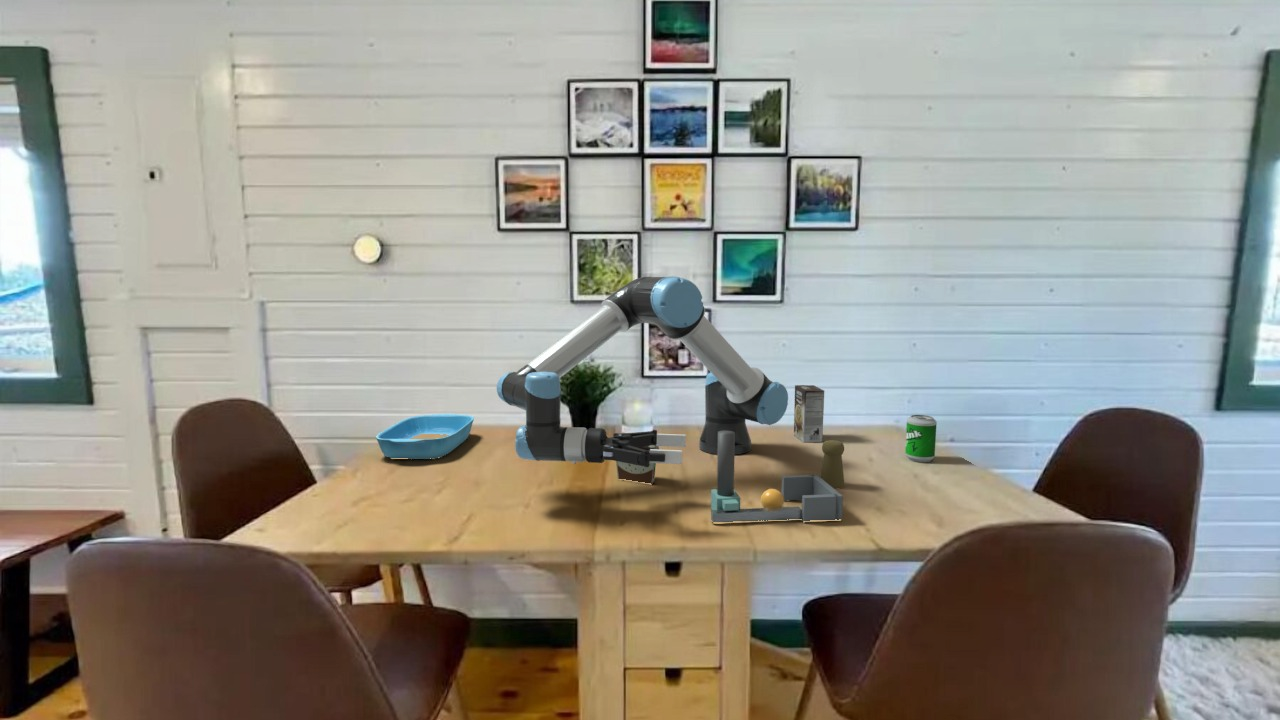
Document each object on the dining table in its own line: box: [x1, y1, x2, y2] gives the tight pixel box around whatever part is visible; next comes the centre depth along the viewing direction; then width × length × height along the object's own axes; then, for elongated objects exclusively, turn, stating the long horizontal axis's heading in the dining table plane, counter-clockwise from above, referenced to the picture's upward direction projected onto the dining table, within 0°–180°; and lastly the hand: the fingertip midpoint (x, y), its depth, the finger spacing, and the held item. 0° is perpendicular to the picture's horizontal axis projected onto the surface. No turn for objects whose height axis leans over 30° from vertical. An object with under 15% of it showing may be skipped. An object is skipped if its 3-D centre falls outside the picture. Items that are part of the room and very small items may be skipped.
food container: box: [615, 444, 660, 485], centre depth 171 cm, size 12×6×10 cm, turn 65°
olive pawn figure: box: [819, 439, 845, 489], centre depth 166 cm, size 6×6×11 cm
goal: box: [781, 474, 844, 521], centre depth 150 cm, size 8×15×6 cm, turn 6°
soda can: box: [904, 414, 938, 463], centre depth 187 cm, size 8×8×12 cm
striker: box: [710, 431, 741, 511], centre depth 145 cm, size 5×8×18 cm, turn 6°
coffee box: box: [793, 384, 825, 443], centre depth 210 cm, size 9×6×16 cm
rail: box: [710, 505, 802, 522], centre depth 143 cm, size 19×2×2 cm, turn 96°
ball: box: [760, 488, 785, 508], centre depth 149 cm, size 5×5×5 cm
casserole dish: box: [375, 413, 475, 460], centre depth 203 cm, size 37×22×7 cm, turn 178°
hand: (683, 448), depth 147 cm, fingers open, 13 cm apart
